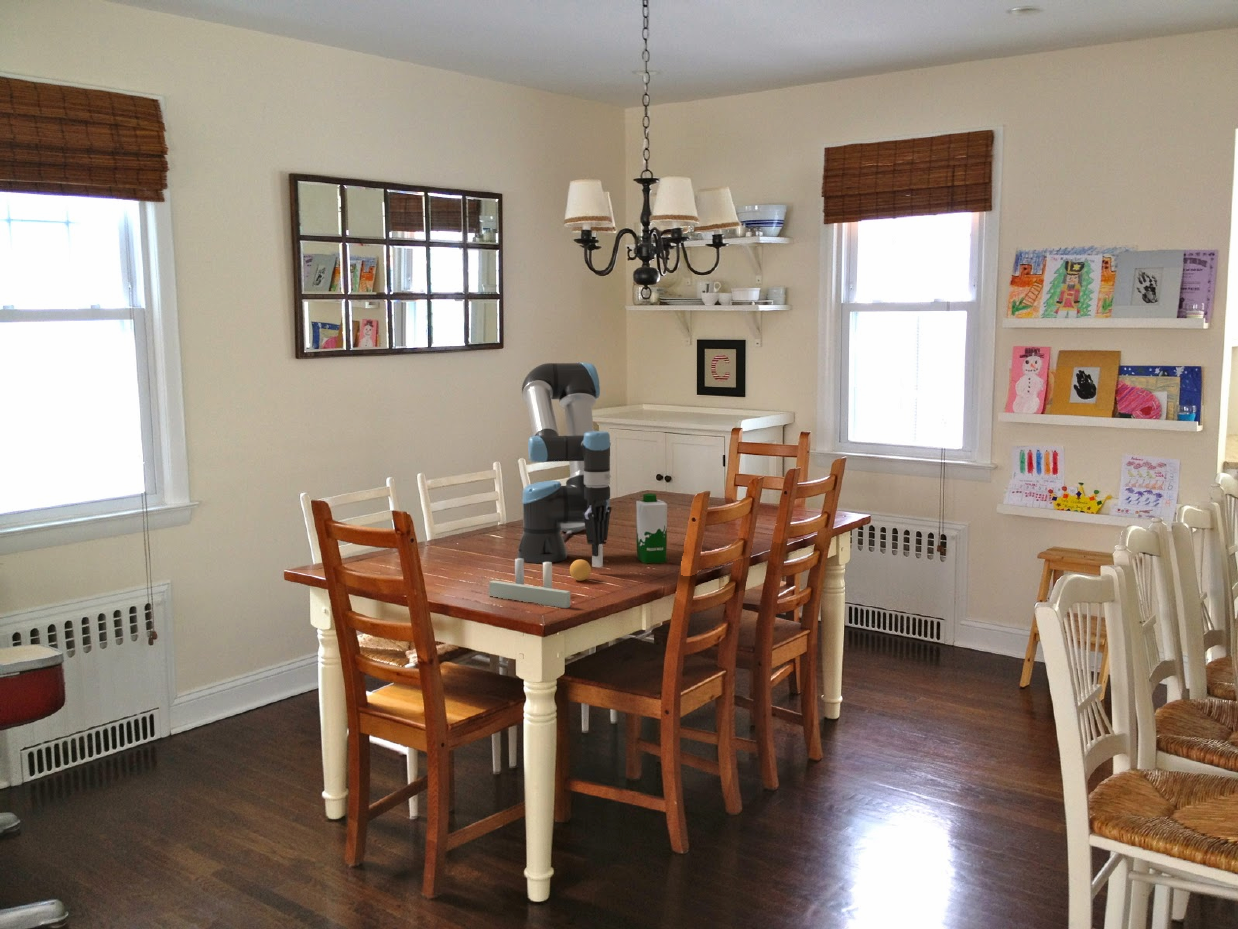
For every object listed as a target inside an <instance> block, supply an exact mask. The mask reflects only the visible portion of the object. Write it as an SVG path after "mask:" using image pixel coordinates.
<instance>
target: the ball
mask: <svg viewBox="0 0 1238 929" xmlns="http://www.w3.org/2000/svg"><path fill="white" fill-rule="evenodd" d="M569 573H570V576H571V577H572V578H573V579H574V580H576V581H578V582H581V581H585V580H587V579H588V578H589V577H590V576H591V573H592V566H591V564H590V563H589V562H588V561H587V560H585V559H576V560H574V561H573V562H572V563H571V564H570V566H569Z"/></svg>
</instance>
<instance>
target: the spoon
mask: <svg viewBox="0 0 1238 929" xmlns="http://www.w3.org/2000/svg"><path fill="white" fill-rule="evenodd" d="M583 530H586V529H585V523H570V524H561V532H563V533H564V532H565V534H564V535H562V537H563V540H564V543H565V542H566V541H567V540H568V538H569V536H570V535H572V534H576V533H580V532H582V531H583Z"/></svg>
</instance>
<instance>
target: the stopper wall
mask: <svg viewBox="0 0 1238 929" xmlns="http://www.w3.org/2000/svg"><path fill="white" fill-rule="evenodd" d="M488 596H493V597H492V598H494V597H498V598H497V599H501V598H503V600H508V599H514V600H519V601H518V602H521V601H523V603H528V602H534V603H538V604H537V605H541V604H542V606H543V605H544V606H548V607H549V606H550V607H554V606H555V608H562V609H568V608H570V607H571V590H566V589H565V590H564V589H557V588H552V589H551V588H544V587H543V586H535V585H530V584H529V585H528V584H524V585H522V584H515V582H507V581H500V580H490V581H488ZM514 600H513V601H514ZM534 603H533V604H534Z"/></svg>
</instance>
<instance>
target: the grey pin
mask: <svg viewBox="0 0 1238 929" xmlns="http://www.w3.org/2000/svg"><path fill="white" fill-rule="evenodd" d="M514 579H515V580H514V583H515V584H522V585H525V562H524V559H523V558H518V557H517V558H515V559H514Z"/></svg>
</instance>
